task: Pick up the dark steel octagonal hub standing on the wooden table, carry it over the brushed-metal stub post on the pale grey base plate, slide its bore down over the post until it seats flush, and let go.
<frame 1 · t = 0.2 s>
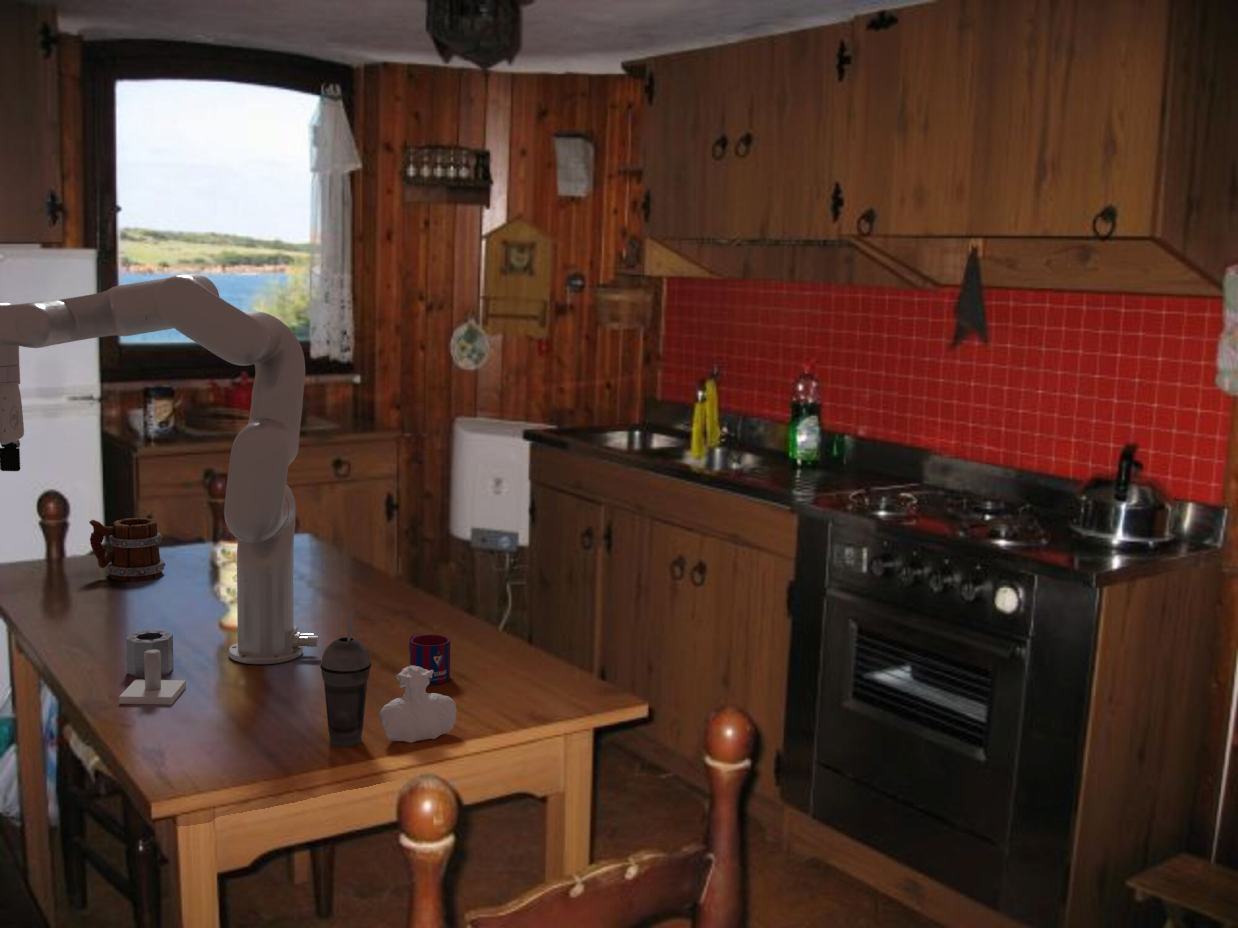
mug: (128, 577, 276), on the table
cup: (426, 676, 219), on the table
hub: (150, 670, 216), on the table
shaft block: (153, 695, 205), on the table
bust: (416, 735, 193), on the table
beverage cup: (345, 742, 189), on the table
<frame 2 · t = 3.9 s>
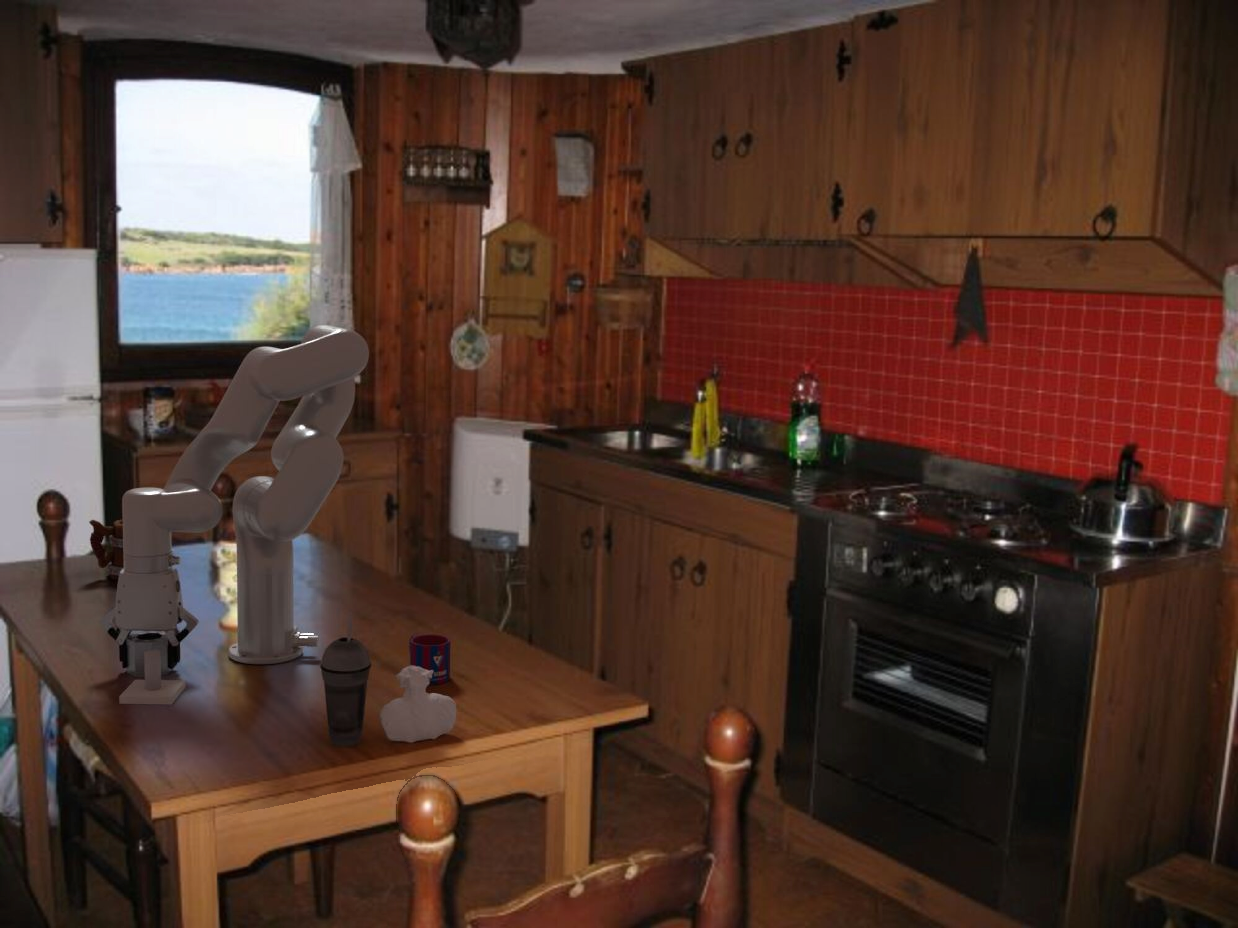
hand: (150, 665, 216), 1 cm above the table, fingers closed on hub, 6 cm apart
hub: (150, 670, 216), on the table, touching gripper
everything else where it was.
when the fingers open (3 cm above the table, at t = 9.3 s): hub stays where it is, resting on shaft block.
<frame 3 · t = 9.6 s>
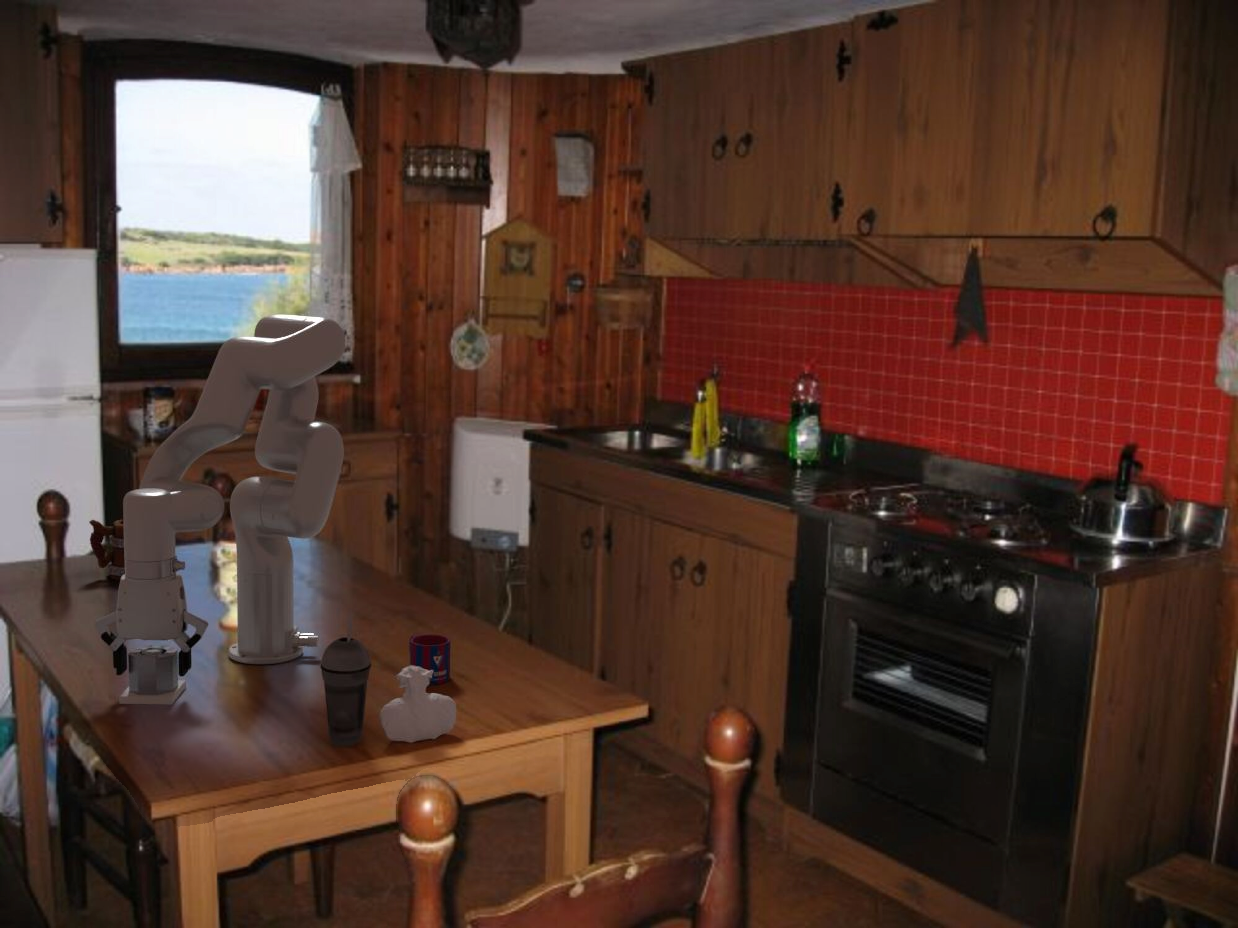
hand: (152, 673, 204), 4 cm above the table, fingers open, 9 cm apart
hub: (153, 687, 205), point 1 cm above the table, touching shaft block
everything else where it was.
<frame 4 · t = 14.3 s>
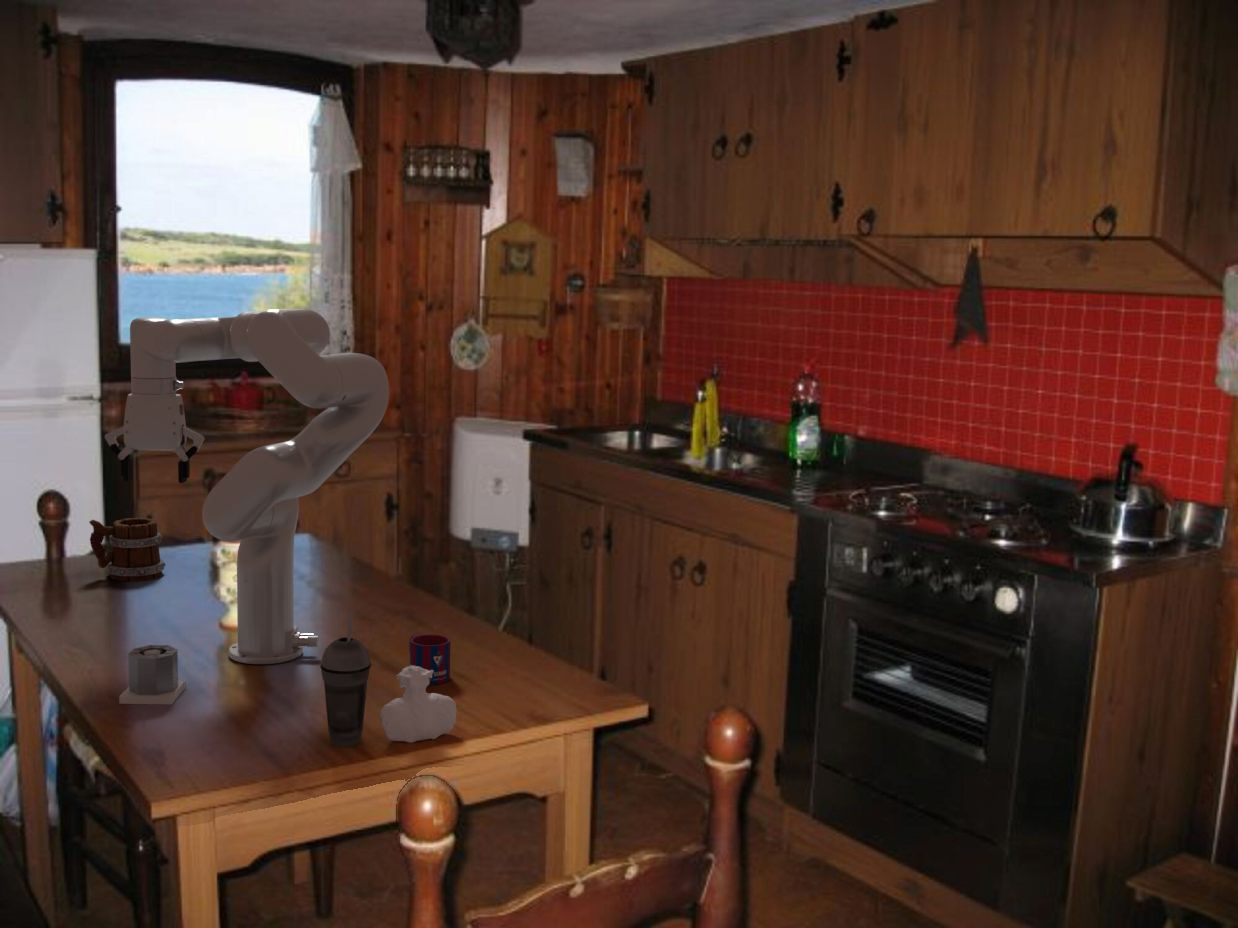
hand: (155, 481, 233), 28 cm above the table, fingers open, 9 cm apart
nothing on the table moved.
at the end: hub 0.1 cm off-centre on the shaft block, point 1.2 cm above the shaft block's base; hub tilted 0°; the gripper is holding nothing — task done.
